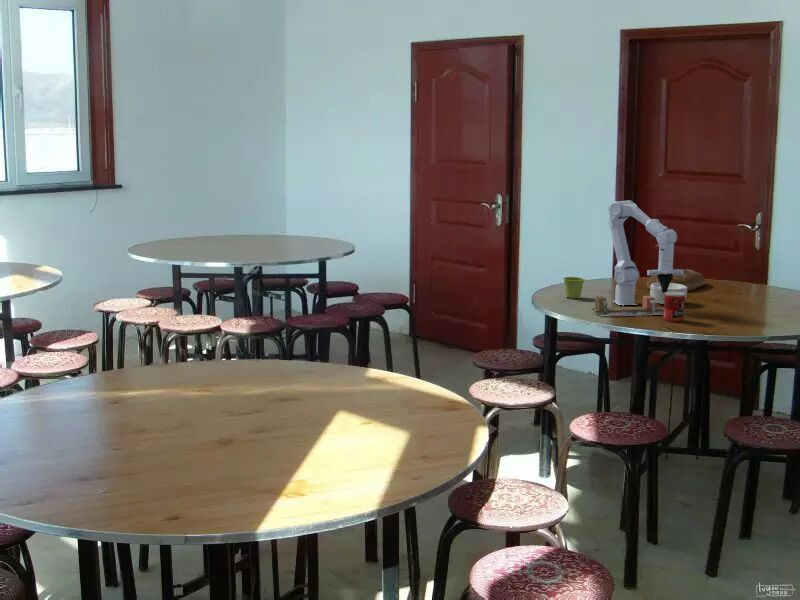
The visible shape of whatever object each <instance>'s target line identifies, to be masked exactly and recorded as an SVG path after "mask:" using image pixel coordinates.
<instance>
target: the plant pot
mask: <svg viewBox="0 0 800 600" xmlns="http://www.w3.org/2000/svg"><path fill="white" fill-rule="evenodd" d="M562 280H563V282H564V287H565V288H564V289H565V298H566V297H570V298H578V299H580V298H581V295H582V290H583V285H584V282H585V278H584V277H578V276H565V277H563V278H562ZM579 297H580V298H579ZM570 298H569V299H570Z"/></svg>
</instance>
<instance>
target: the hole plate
mask: <svg viewBox="0 0 800 600" xmlns="http://www.w3.org/2000/svg"><path fill="white" fill-rule="evenodd" d="M595 313H597V314H598V315H621V316H636V317H643V316H642V315H650V316H649V317H652V316H651V315H664V311H637V312H595Z"/></svg>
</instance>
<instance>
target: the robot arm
mask: <svg viewBox="0 0 800 600" xmlns="http://www.w3.org/2000/svg"><path fill="white" fill-rule="evenodd" d="M608 214H609V216H608V217H609V218H608V225H609V230H610V233H611V238H612V244H613V247H614V251H615V256H616V260H617V264H616V265H615V266H614V280H615V282H616V286H615V291H614V300H612V302H613V303H614V302H615V303H616V305H617V304H618V305H617V306H619V305H622V306H621V307H625V306H624V305H638V304H637V303H635V299H636V298H635V297H636V295H635V294H636V284H637V281H638V280H639V278H640V271H639V269H638V268H637V266H636V263H635V262H634V261H632V260H631V259H632V258H631V254H630V250H629V246H628V242H627V237H626V233H625V228H624V222H625V221H626V220H627V219H628V218H629V217H632V218H634V219H635V220H637V221H638V222H640V223H641V224H642V225H644V226H645V230H646V231H647V232H648V233H649V234H650V235H652V236H653V237H654V238H656V242H657V243H658V264H657V265H658V267H657V268H658V269H657V268H656V269H648V270H646V271H647V276H652V275H657V277H658V279H659V282H660V285H661V289H662V292H663V293H665V292H667V290H668V287H669V284H670V282H671V280H672V279H673V276H672V275H683V270H674V269H675V268H674V267H673V266H674V250H675V249H674V247H675V243H676V242H677V241H678V234H677V232H676V231H675V230H674V229H672V228H671V229H670V228H668V227H667V226H665V225H663V224H662V223H661V222H660V220H659V219H655V218H652V219H651V218H650V217H649V215H647V214H646V213H645V212H644V211H642V209H640V207H638V206H637V204H636V203H634V201H632V200H630V199H628V200H620V201H617V200H615V201H613V202H612V203H611V204H610V205H609V207H608ZM658 273H659V274H658ZM661 273H666V274H661ZM615 303H614V304H615Z"/></svg>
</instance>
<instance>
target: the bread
mask: <svg viewBox="0 0 800 600" xmlns="http://www.w3.org/2000/svg"><path fill="white" fill-rule="evenodd" d="M673 269H674V270H683V275H672V276H673V279H672V280H671V282H670V283H675V284H681V285H685V286H686V287H687V292H689V291H693V290H696V289H699V288H701V287H703V286H704V285H705V284H706V278H705V277H704V275H703V274H702V273H700V272H698V271H695V270H693V269H685V268H673ZM658 274H659V273H658ZM661 274H666V273H661ZM653 283H660V282H659V279H658V277H657V275H650V277H649V278H648V279H647V282H646V287H647V288H648V290H651V289H650V287H651V284H653Z"/></svg>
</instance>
